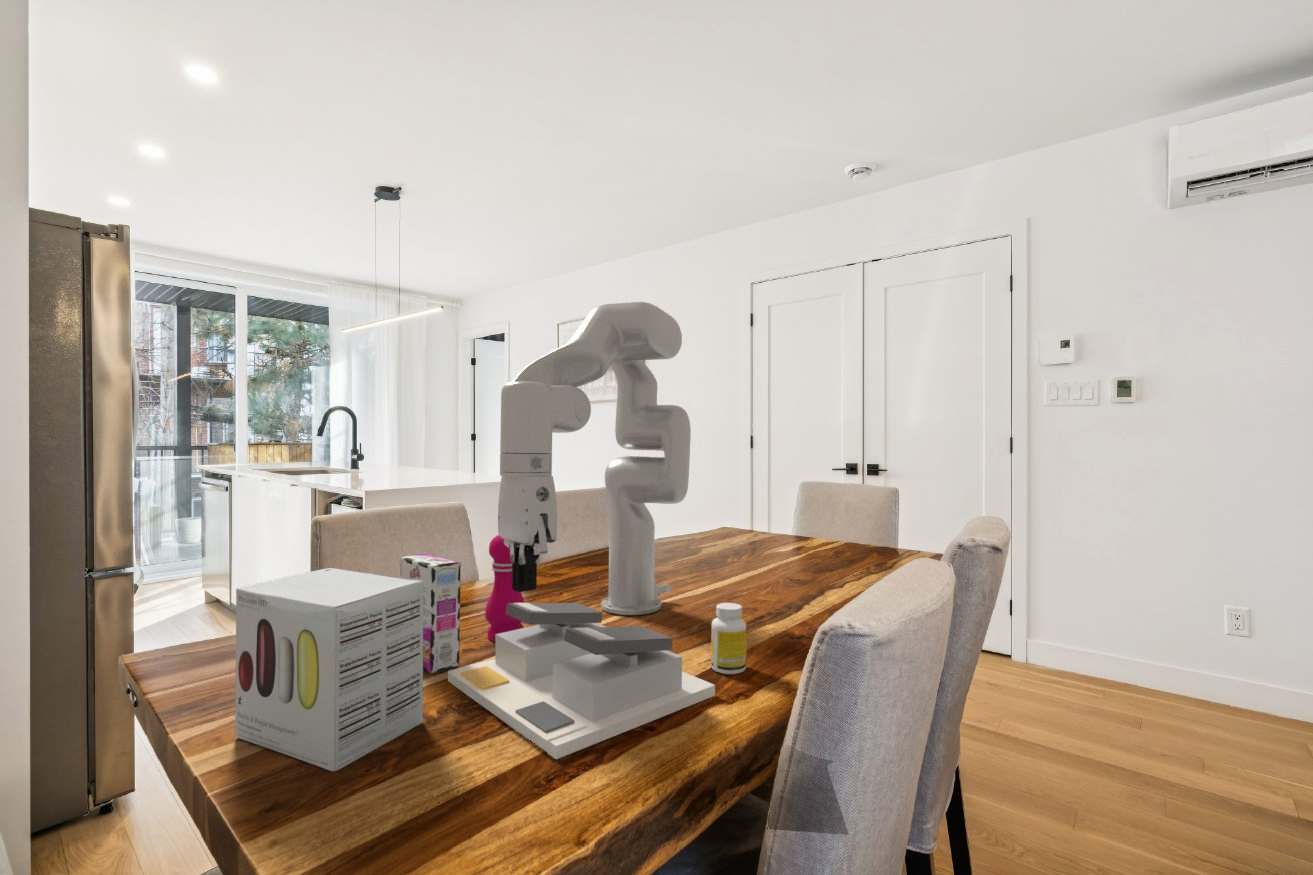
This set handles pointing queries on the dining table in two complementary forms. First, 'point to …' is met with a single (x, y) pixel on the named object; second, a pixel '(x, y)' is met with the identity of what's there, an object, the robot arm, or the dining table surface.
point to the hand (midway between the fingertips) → (524, 589)
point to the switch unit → (575, 688)
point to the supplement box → (328, 664)
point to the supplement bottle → (728, 640)
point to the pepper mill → (501, 591)
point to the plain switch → (617, 639)
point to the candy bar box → (437, 608)
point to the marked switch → (553, 613)
